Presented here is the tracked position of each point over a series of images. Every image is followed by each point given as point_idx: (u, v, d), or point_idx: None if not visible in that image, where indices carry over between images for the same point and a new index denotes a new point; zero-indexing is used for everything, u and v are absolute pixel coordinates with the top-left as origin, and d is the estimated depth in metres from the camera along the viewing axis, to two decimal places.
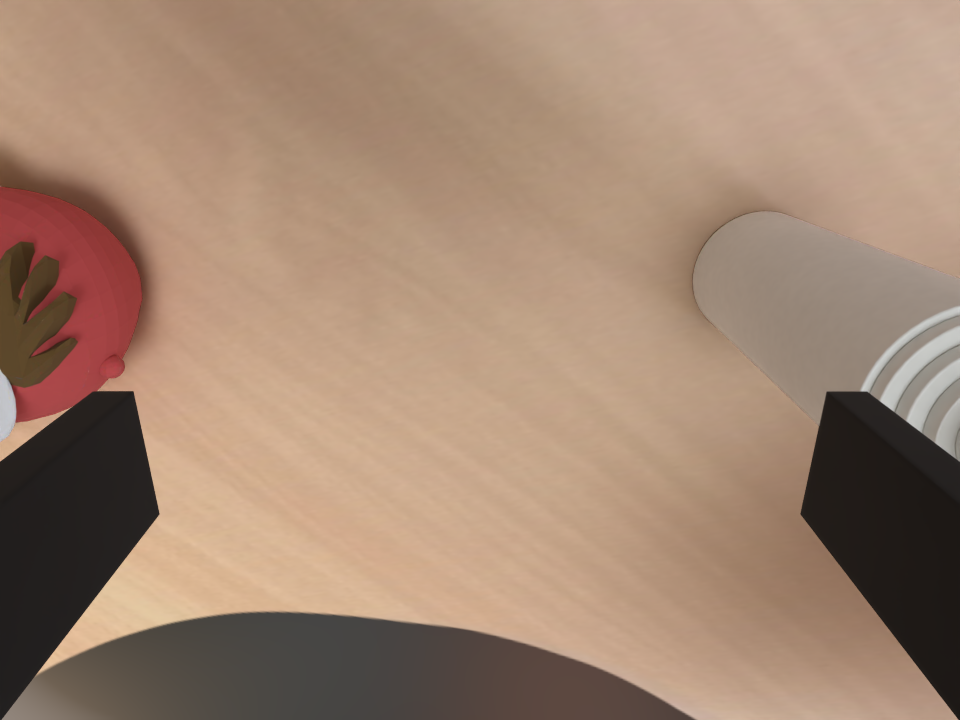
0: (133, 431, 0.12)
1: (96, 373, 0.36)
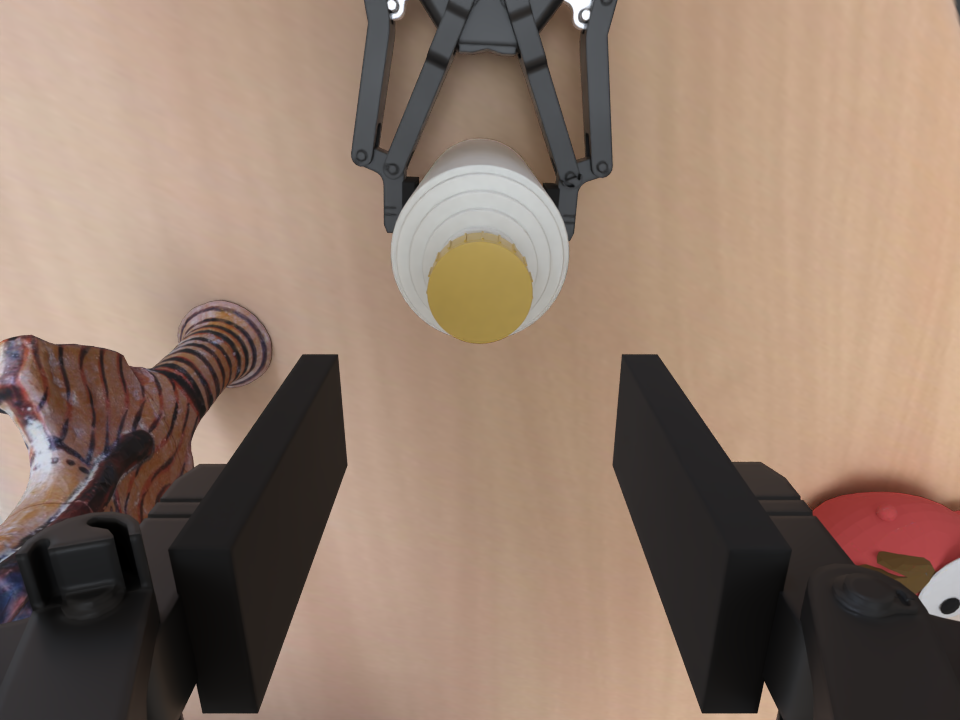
0: (337, 388, 0.14)
1: (897, 519, 0.49)
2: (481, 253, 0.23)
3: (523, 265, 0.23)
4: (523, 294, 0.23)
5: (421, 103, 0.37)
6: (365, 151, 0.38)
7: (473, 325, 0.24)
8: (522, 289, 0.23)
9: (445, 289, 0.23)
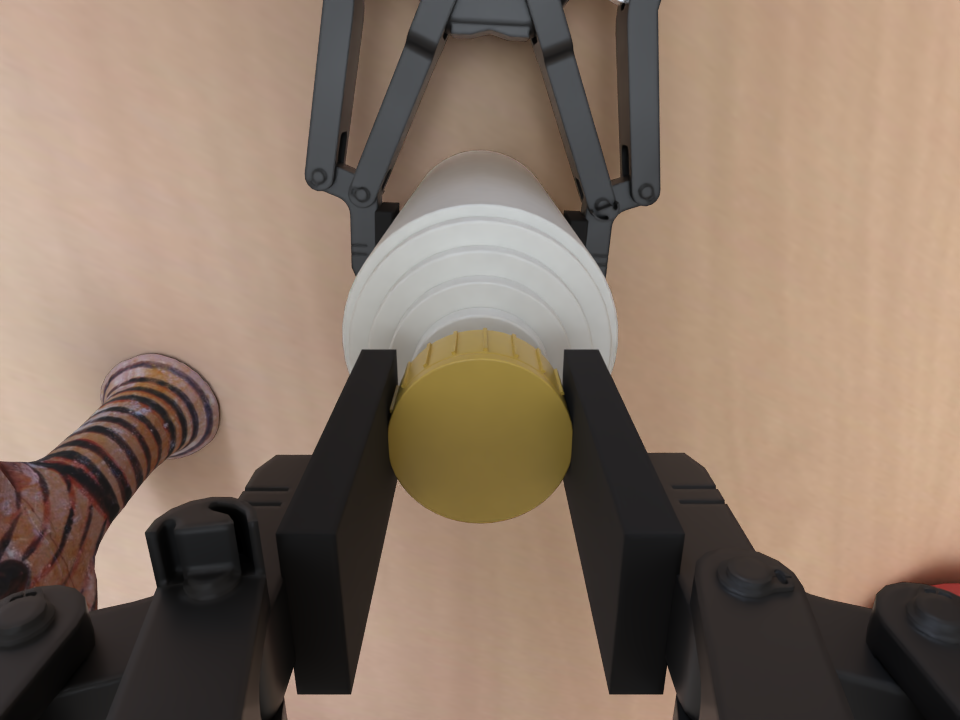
0: (396, 383, 0.14)
1: None
2: (483, 378, 0.13)
3: (558, 398, 0.13)
4: (556, 445, 0.13)
5: (400, 105, 0.27)
6: (324, 170, 0.28)
7: (469, 495, 0.13)
8: (555, 437, 0.13)
9: (419, 437, 0.13)
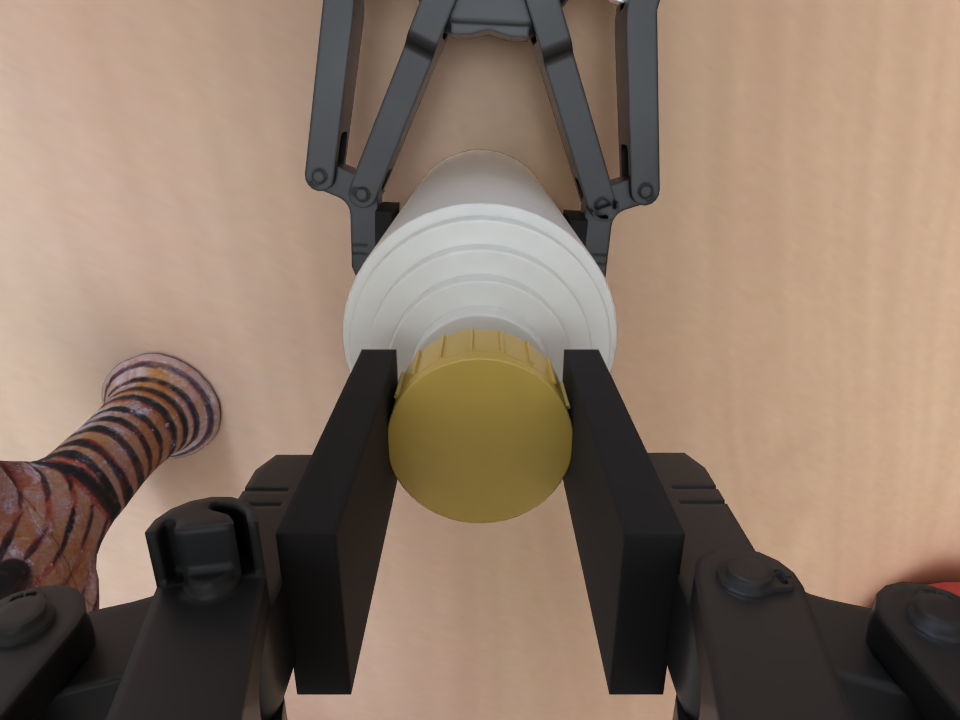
0: (396, 383, 0.14)
1: None
2: (407, 436, 0.13)
3: (434, 370, 0.12)
4: (487, 375, 0.13)
5: (400, 104, 0.27)
6: (324, 170, 0.28)
7: (536, 460, 0.13)
8: (478, 375, 0.13)
9: (465, 496, 0.14)
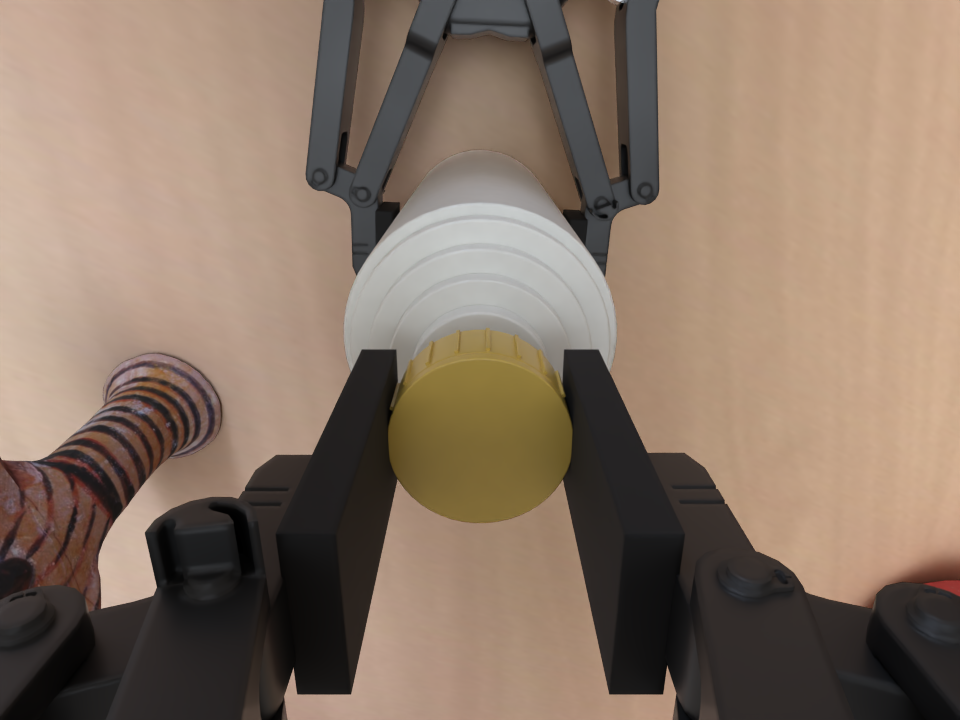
0: (396, 383, 0.14)
1: None
2: (464, 505, 0.14)
3: (397, 475, 0.13)
4: (404, 432, 0.13)
5: (400, 104, 0.27)
6: (324, 170, 0.28)
7: (503, 395, 0.13)
8: (404, 439, 0.13)
9: (537, 463, 0.13)
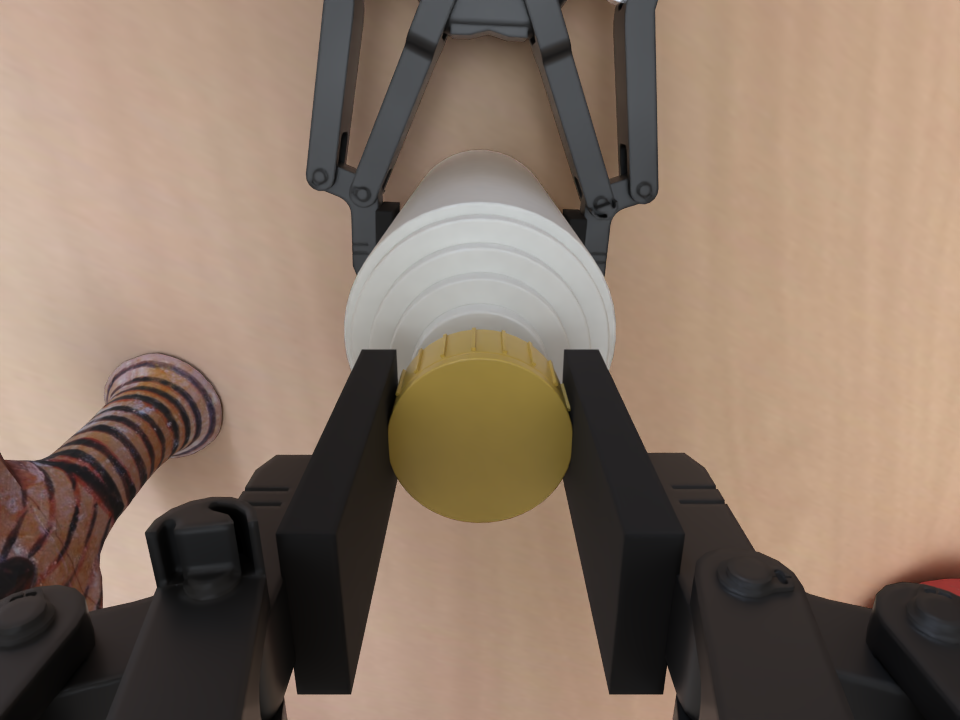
0: (396, 383, 0.14)
1: None
2: (548, 465, 0.13)
3: (506, 518, 0.14)
4: (459, 507, 0.14)
5: (400, 105, 0.27)
6: (325, 170, 0.28)
7: (427, 420, 0.13)
8: (467, 507, 0.14)
9: (506, 394, 0.13)
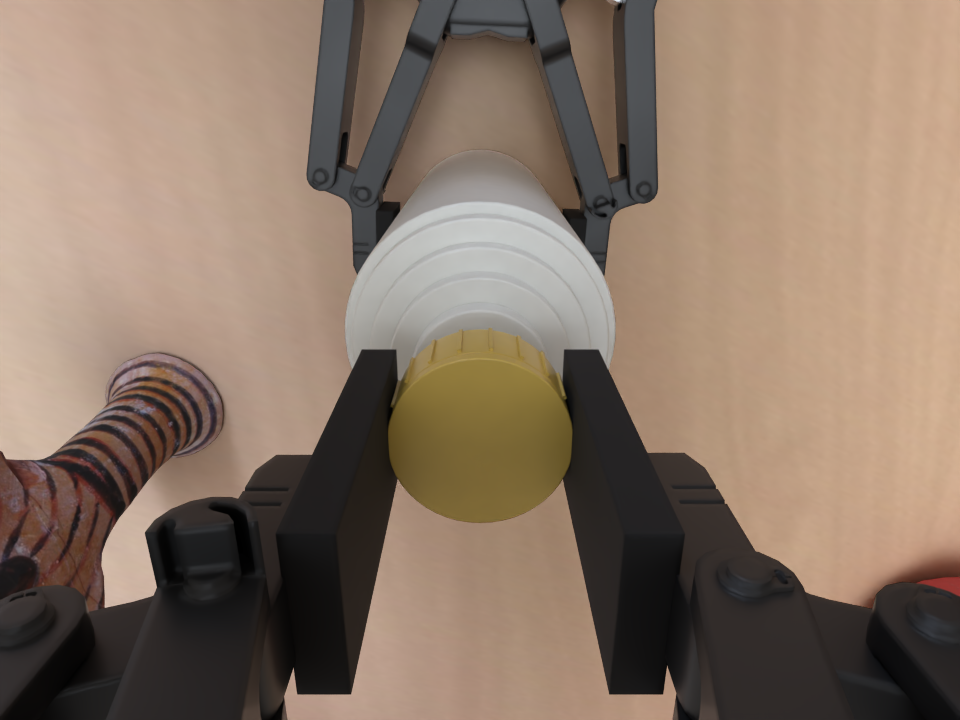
0: (396, 383, 0.14)
1: None
2: (511, 384, 0.13)
3: (570, 427, 0.13)
4: (550, 470, 0.13)
5: (400, 105, 0.27)
6: (325, 170, 0.28)
7: (448, 487, 0.13)
8: (552, 462, 0.13)
9: (426, 416, 0.13)
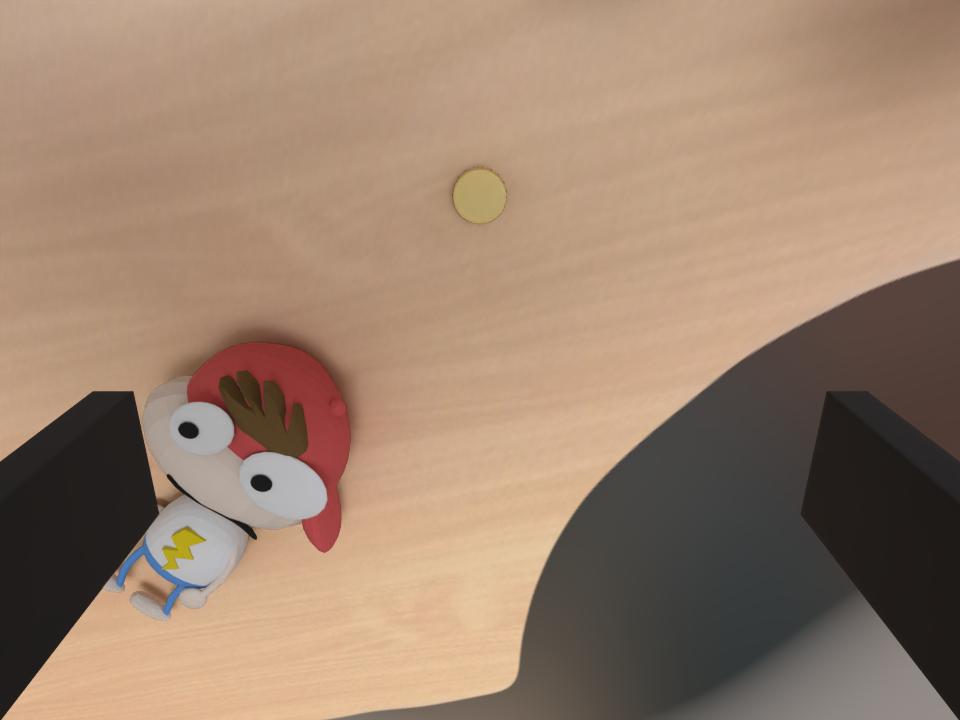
0: (133, 431, 0.12)
1: (334, 417, 0.47)
2: (488, 177, 0.45)
3: (505, 191, 0.46)
4: (499, 205, 0.46)
5: None
6: None
7: (470, 211, 0.46)
8: (500, 203, 0.46)
9: (464, 188, 0.46)
